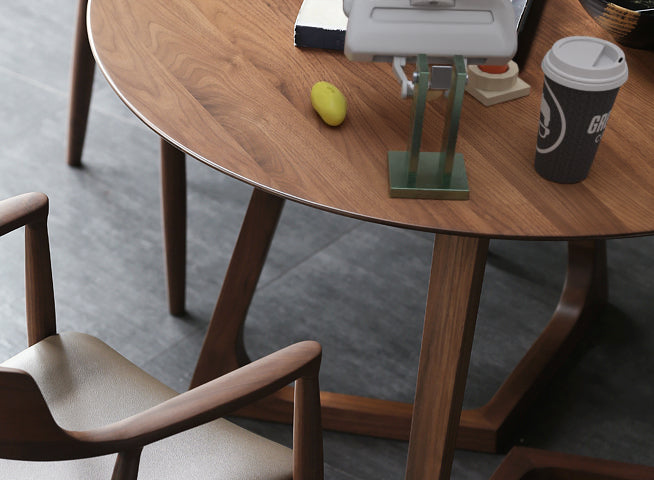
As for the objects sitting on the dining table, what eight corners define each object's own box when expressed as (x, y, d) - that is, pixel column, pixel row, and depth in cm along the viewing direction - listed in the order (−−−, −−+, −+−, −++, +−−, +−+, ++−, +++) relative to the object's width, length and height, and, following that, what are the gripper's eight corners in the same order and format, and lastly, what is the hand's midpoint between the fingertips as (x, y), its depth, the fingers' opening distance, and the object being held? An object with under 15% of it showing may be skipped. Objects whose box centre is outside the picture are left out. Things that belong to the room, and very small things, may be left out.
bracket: (386, 159, 129) (398, 44, 119) (461, 162, 129) (479, 47, 119) (389, 197, 124) (402, 80, 114) (468, 200, 124) (487, 83, 114)
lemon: (319, 133, 134) (320, 104, 131) (305, 100, 139) (306, 73, 137) (352, 130, 134) (354, 102, 132) (337, 98, 140) (338, 70, 137)
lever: (411, 101, 129) (413, 70, 128) (441, 102, 129) (443, 71, 128) (424, 94, 117) (425, 59, 116) (457, 95, 117) (459, 60, 116)
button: (512, 72, 141) (514, 59, 140) (489, 77, 140) (491, 65, 138) (495, 60, 143) (497, 48, 142) (473, 65, 142) (475, 53, 141)
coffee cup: (568, 200, 124) (597, 82, 114) (504, 165, 129) (526, 49, 119) (618, 171, 129) (650, 55, 118) (554, 138, 134) (580, 24, 124)
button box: (529, 94, 142) (533, 73, 140) (486, 106, 139) (489, 85, 137) (493, 68, 147) (496, 47, 145) (450, 79, 144) (453, 58, 142)
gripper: (344, -30, 124) (342, 88, 124) (521, -26, 125) (519, 92, 124) (341, -9, 131) (339, 104, 130) (509, -4, 131) (508, 108, 130)
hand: (428, 98), depth 127 cm, fingers closed on lever, 3 cm apart
